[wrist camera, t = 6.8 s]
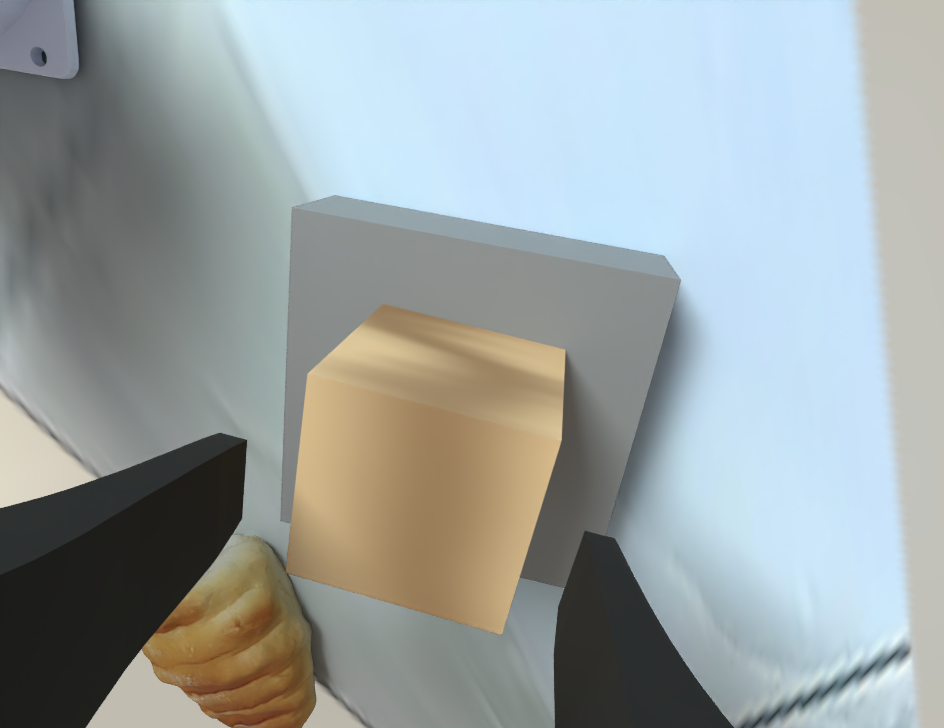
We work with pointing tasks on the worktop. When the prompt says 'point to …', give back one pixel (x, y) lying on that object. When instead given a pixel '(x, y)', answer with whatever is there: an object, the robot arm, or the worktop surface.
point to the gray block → (499, 310)
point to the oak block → (426, 464)
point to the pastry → (240, 642)
